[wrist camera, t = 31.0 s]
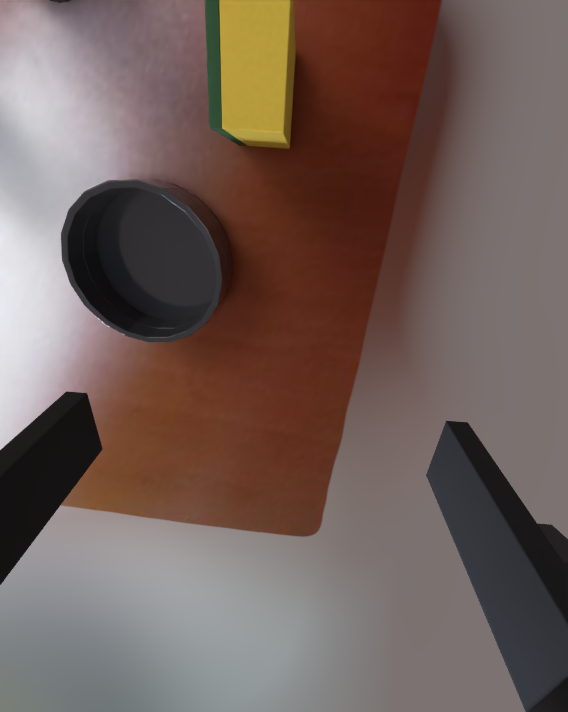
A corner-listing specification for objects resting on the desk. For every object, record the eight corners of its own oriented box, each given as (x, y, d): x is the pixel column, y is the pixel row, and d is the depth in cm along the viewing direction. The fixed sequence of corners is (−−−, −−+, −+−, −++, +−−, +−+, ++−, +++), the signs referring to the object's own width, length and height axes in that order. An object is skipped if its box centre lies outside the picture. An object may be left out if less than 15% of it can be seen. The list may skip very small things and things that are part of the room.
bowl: (258, 240, 35) (251, 249, 30) (194, 344, 41) (179, 366, 36) (124, 145, 31) (91, 138, 26) (76, 275, 37) (42, 289, 33)
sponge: (295, 50, 27) (291, -23, 18) (289, 148, 31) (283, 133, 21) (238, 46, 27) (203, -29, 18) (238, 145, 31) (209, 127, 21)
